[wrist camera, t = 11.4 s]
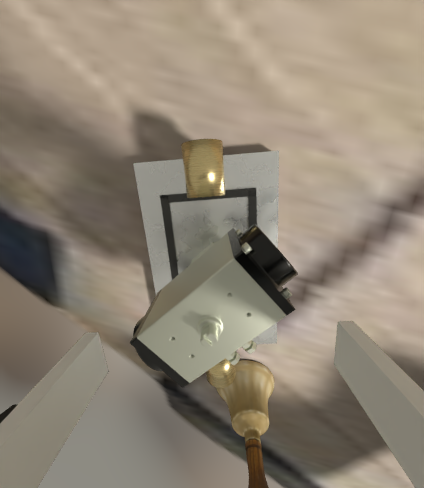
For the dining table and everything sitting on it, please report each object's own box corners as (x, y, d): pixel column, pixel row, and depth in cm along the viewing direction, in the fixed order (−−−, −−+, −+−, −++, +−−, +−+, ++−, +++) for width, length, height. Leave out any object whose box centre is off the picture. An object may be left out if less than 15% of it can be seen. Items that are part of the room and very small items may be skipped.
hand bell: (252, 412, 30) (290, 641, 15) (205, 389, 29) (193, 611, 14) (285, 375, 28) (367, 597, 13) (235, 349, 27) (259, 558, 12)
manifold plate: (273, 337, 27) (291, 385, 20) (168, 343, 27) (153, 390, 21) (274, 147, 20) (300, 130, 14) (138, 159, 21) (103, 148, 15)
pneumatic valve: (160, 278, 23) (104, 371, 11) (240, 209, 21) (270, 237, 9) (194, 310, 24) (173, 425, 12) (273, 248, 22) (337, 317, 10)
